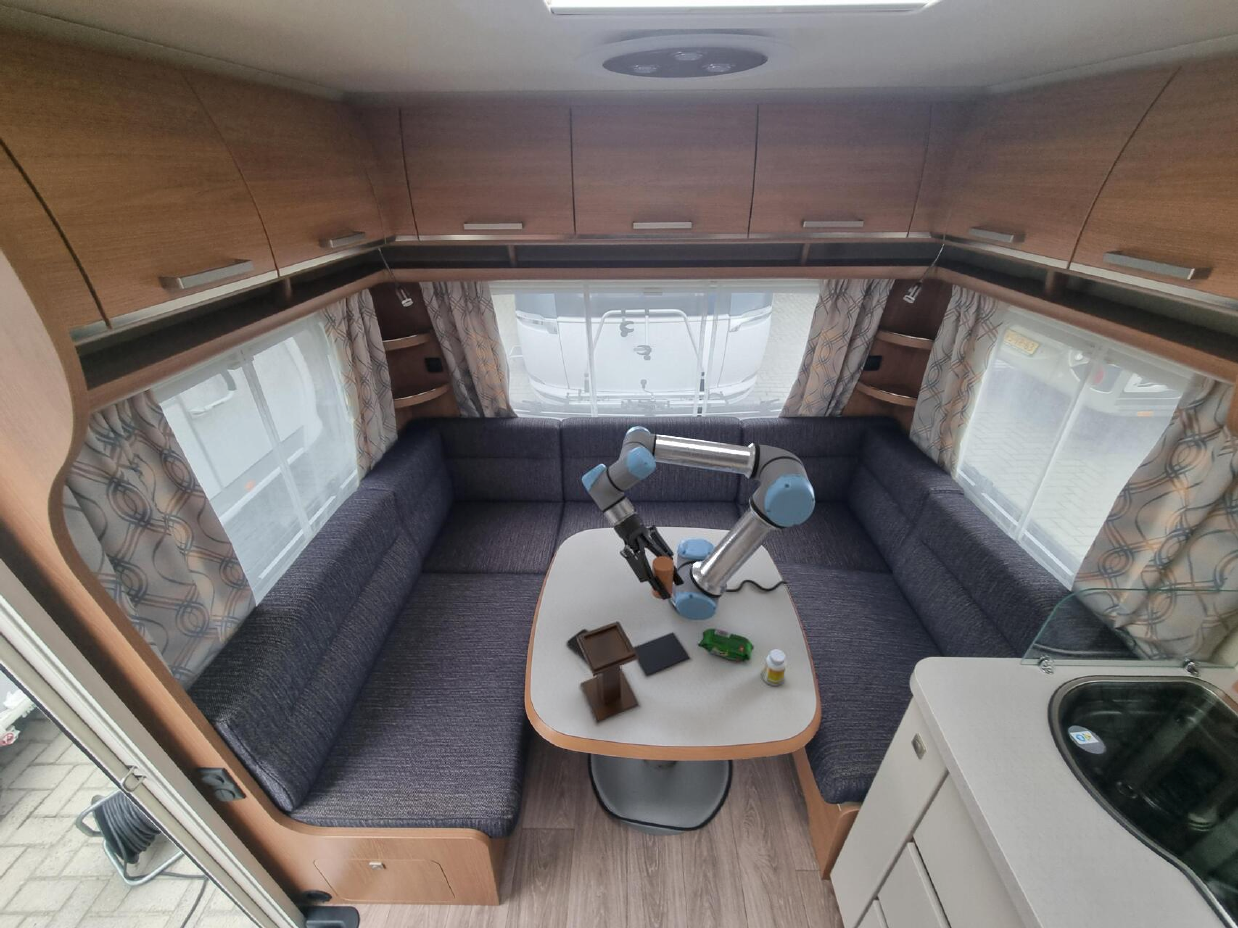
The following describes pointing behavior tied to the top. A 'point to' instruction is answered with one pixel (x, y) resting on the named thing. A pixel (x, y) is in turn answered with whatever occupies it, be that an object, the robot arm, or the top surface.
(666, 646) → the mat
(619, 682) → the stand
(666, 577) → the tin
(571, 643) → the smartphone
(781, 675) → the supplement bottle
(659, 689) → the top surface
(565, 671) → the top surface
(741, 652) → the snack package
